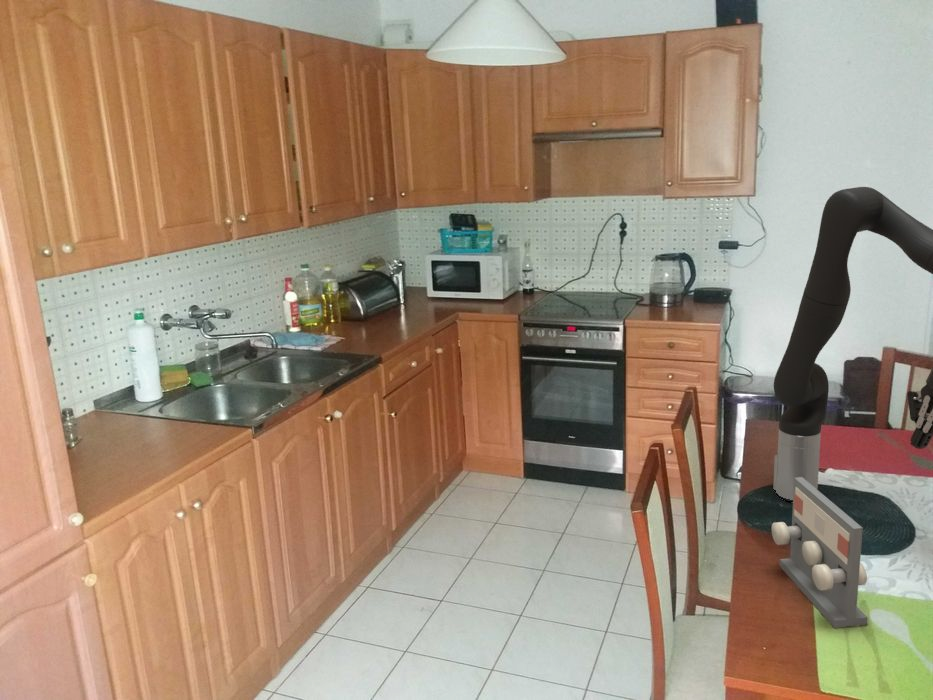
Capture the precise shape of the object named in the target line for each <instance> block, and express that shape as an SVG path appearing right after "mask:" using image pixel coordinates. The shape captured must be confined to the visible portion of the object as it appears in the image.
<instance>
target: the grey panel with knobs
mask: <svg viewBox="0 0 933 700" xmlns="http://www.w3.org/2000/svg"><path fill="white" fill-rule="evenodd" d="M791 513H792V515H791V517H792V518H791V520H792V521H791V526H797V525H799V526H800V527H801V528H802V538H793V539H790V555H789V557H788V558H780V559H779V565H778V566H779V567H780V569H781V570H783V572H784V573H785V574H786V575H787V577H788V578H790V580H791V581H792V582H793V584H795V585H796V587H797V588H798V589H799V590H800V592H801V593H803V594H804V596H805V597H806V598H807V599H808V601H809V602H810V603H811V604H812V605H813V606H814V607H815V608H816V609H817V610H818V611H819V612H820V614H821V615H822V616H823V617H824V618H825V620H826V621H828V623H829V622H830V623H831V624H830V623H829V624H830V625H831V626H832V627H833V628H834V629H840V628H839V627H843V628H847V627H846V626H853V627H858V626H857V625H862V626H868V616H867V615H866V614H865V613H864V612H863V611H862V610H861V608H860V607H858V606H857V605H858V593H859V585H858V582H859V569H860V563H861V554H862V553H861V552H862V543H863V541H862V540H863V529H864V528H863V527H862V526H861V524H859V523H857V522H856V520H854V519H853V518H852V517H851V516H849V515H848V514H847V513H846V512H844V511H843V509H841V508H840V507H839V506H837V505H836V504H835V503H834V502H832V501H831V500H830V499H829V498H828V497H827V496H825V495H824V494H823V493H822V492H821V491H819V490H818V488H817V489H816V488H815V487H813V486H812V485H811V484H810V483H809V482H807V481H806V480H805V479H804V478H803V477H797V478H794V493H793V502H792V512H791ZM805 541H816V542H817V543H818V544H819V546H820V547H822V548H823V559H822V562H821V564H826V565H827V566H828V567H829V568H830V569H838V568H843V569H844V570H845V571H846V572H847V581H846V582H840V583H834V584H833V588H832V589H830V590H819V589H818V588H817V587H816V585H815V583H814V581H813V577H812V568H813V566H814V565H808V564H807V563H806V561H805V559H804V557H803V552H802V545H803V543H804V542H805ZM819 565H820V564H819Z"/></svg>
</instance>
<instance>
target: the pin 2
mask: <svg viewBox="0 0 933 700" xmlns="http://www.w3.org/2000/svg"><path fill="white" fill-rule="evenodd" d="M867 575H868V574H867V571H866V569H865V566H864V565H863V564H862V562H860V569H859V582H858V586H865V585H866V584H867V581H868V576H867ZM812 577H813V581H814V583H815V585H816V587H817V588H818V589H819V590H830V589H832V588H833V584H834V583H840V582H846V581H847V572H846V571H845V570H844V569H843V568H838V569H830V568H829V567H828V566H827V565H826V564H820V565H814V566H813V568H812Z"/></svg>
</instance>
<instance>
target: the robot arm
mask: <svg viewBox="0 0 933 700" xmlns="http://www.w3.org/2000/svg"><path fill="white" fill-rule="evenodd" d="M821 215H822V216H821V219H820V223H819V224H820V225H819V232H818V236H817V237H818V238H817V241H816V247H815V253H814V255H813V260H812V263H811V267H810V269H809V270H810V271H809V273H808V278H807V281H806V284H805V287H804V290H803V294H802V297H801V300H800V303H799V307H798V311H797V315H796V319H795V322H794V325H793V327H792V332H791V335H790V338H789V341H788V344H787V347H786V350H785V352H784V354H783V357H782V358H781V360H780V364H779V365H778V368H777V371H776V373H775V376H774V379H773V391H774V392H773V393H774V395H775V398H776V399H777V400H778V402H779V403H780V404H782V405H783V406H786V407H788V408H787V409H786V410H785V411H784V412H783V413H782V414H781V415H780V416H779V420H778V439H777V440H778V441H777V443H778V444H777V454H774V461H773V462H774V463H773V464H774V465H773V486H772V487H773V488H772V490H773V489H774V490H776V492H775V494H776V493H777V494H778V495H779V496H781V497H783V498H786V499H790V500H793V493H794V478H797V477H803V478H804V479H805V480H806V481H807V482H809V483H810V484H811V485H812V486H813V487H815V488H816V489H817V490H818V485H819V484H818V483H819V473H820V472H819V470H820V453H821V438H822V437H821V434H822V427H823V426H822V425H823V423H824V422H825V419H826V416H827V409H828V408H827V407H828V400H829V389H830V388H829V385H830V383H829V377H828V375H827V372H826V371H825V370H824V367H822V366H821V365H820V364H818V363H817V362H816V360H817V358H818V356H819V354H820V353H821V351H822V350H823V348H824V347H825V346H826V345H827V344H828V342H829V340H830V339H831V338H832V337H833V335H834V334H835V333H836V331H837V330H838V328H839V327H840V325H841V323H842V321H843V318H844V316H845V313H846V310H847V307H848V305H849V301H850V296H851V291H852V290H851V280H850V275H849V274H850V273H849V269H848V267H849V266H848V262H849V255H850V253H851V249H852V246H853V243H854V240H855V239H856V236H857V234H858V233H860V232H865V231H868V232H872V233H874V234H878V235H879V236H882V237H885V238H886V239H888V240H890V241H891V242H893V243H894V244H895V245H897V247H899V248H900V249H901V251H903V253H904V254H905V255H906V256H907V258H908V259H910V260H911V262H913V264H915V265H917V266H918V267H920V268H922V270H924V271H927V272H928V273H929V274H932V275H933V228H931V227H930V226H928V225H926V224H924V223H922V222H921V221H919V220H918V219H916V218H915V217H913V216H912V215H911V214H909V213H908V212H906V211H905V210H903V209H902V208H901V207H900V206H898V205H897V204H895V203H894V202H893V201H892V200H890V199H889V198H888V197H887V196H886V195H884V194H883V193H881V192H880V191H879V190H878V189H875V188H872V187H870V186H857V187H851V188H844V189H840V190H838V191H836V192H834V193H832V194H831V195H830V196H829V197H828V199H827V200H826V202H825V204H824V207H823V210H822V214H821ZM906 395H907V403H908V411H909V417H910V420H911V421H912V422H914V424H915V426H916V427H915V429H914V430H913V433H912V435H911V437H910V445H911V446H912V447H914V448H915V449H916V450H917V449H918V450H919V449H920V450H923V449H925V448H927V447H928V445H929V443H930V442H931V440H932V438H933V367H932V368H931V370H930V371H929V374H928V376H927V378H926V380H925V385H924V386H922V388H921V389H920V390H917V391H915V390H912V391H911V390H909V391H907V394H906ZM774 490H773V491H774Z"/></svg>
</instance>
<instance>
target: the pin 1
mask: <svg viewBox="0 0 933 700" xmlns="http://www.w3.org/2000/svg"><path fill="white" fill-rule="evenodd" d="M771 535H772V538H773V541H774V543H775V544H776V545H777V546H785V545H788V544H789V543H790V542H791V539H793V538H802V528H801V527H800V526H799V525H797V526H792V525H789V526H788V525H787V523H785V522H784V521H778V522H773V523H772V524H771Z"/></svg>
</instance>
